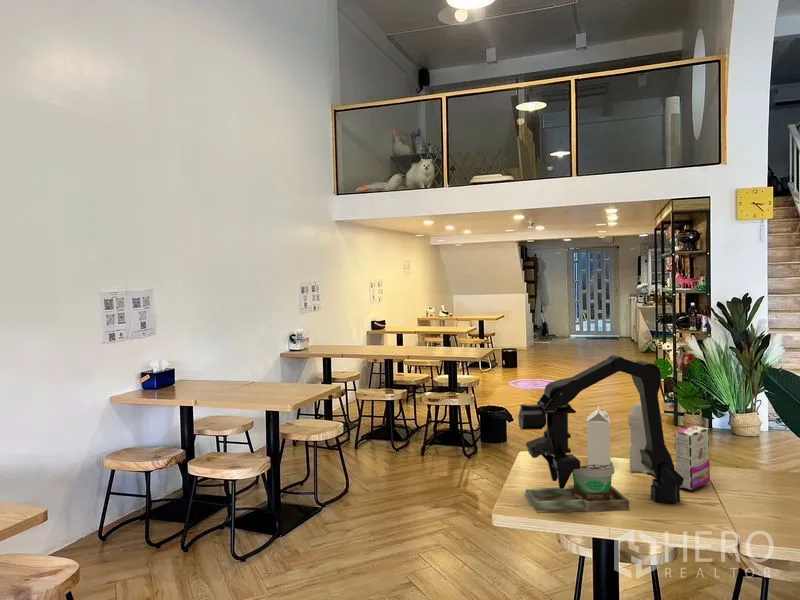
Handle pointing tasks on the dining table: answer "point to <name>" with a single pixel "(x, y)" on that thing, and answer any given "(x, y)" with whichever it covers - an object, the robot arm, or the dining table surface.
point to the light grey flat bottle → (637, 438)
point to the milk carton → (598, 438)
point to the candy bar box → (693, 456)
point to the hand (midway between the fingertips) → (557, 484)
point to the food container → (593, 482)
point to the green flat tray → (572, 501)
